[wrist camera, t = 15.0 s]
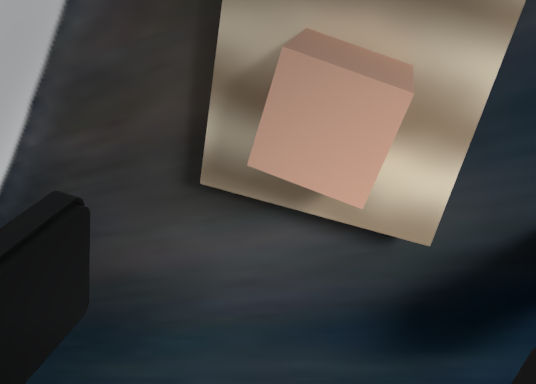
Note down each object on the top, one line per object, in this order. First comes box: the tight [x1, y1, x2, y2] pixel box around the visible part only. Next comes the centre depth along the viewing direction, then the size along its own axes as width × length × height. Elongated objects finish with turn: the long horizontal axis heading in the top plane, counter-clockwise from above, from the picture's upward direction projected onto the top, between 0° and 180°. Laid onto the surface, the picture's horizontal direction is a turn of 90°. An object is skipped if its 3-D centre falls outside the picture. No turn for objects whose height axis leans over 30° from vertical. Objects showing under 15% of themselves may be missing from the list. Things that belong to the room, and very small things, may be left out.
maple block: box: [200, 0, 526, 246], centre depth 30 cm, size 15×15×4 cm
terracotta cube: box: [247, 28, 415, 209], centre depth 26 cm, size 6×6×6 cm
